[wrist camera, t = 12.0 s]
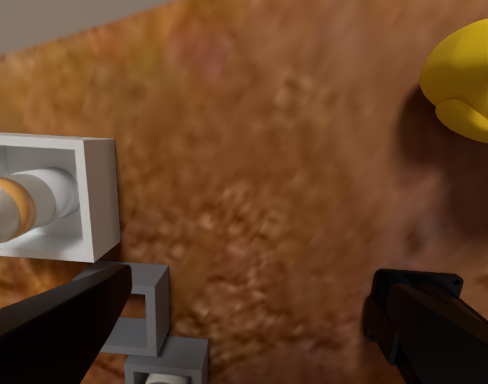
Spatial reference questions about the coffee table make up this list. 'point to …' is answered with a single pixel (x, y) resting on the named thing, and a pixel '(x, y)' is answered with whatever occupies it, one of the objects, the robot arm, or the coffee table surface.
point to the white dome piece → (168, 379)
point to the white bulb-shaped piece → (35, 200)
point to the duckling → (460, 81)
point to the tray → (90, 195)
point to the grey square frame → (157, 310)
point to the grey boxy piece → (171, 361)
